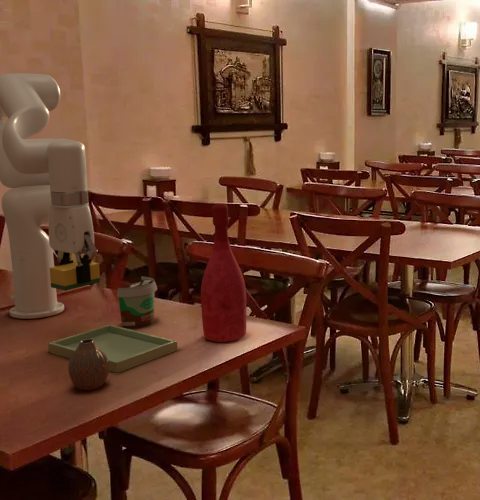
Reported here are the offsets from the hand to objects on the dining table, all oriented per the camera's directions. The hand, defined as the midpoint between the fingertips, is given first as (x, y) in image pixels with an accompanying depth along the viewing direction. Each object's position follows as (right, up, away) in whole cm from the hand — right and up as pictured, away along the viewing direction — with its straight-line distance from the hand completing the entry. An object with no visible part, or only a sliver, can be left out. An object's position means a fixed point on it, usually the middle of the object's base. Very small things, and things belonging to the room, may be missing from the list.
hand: (75, 279), depth 155 cm
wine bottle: (+33, -13, +2) cm, 35 cm away
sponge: (0, -1, 0) cm, 1 cm away
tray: (+11, -15, -7) cm, 20 cm away
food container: (+12, -11, +12) cm, 20 cm away
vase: (+13, -19, -26) cm, 34 cm away
